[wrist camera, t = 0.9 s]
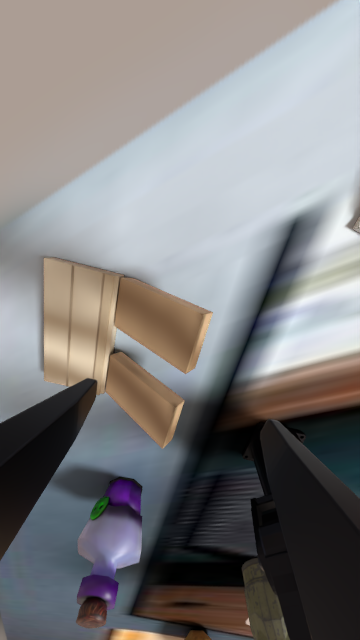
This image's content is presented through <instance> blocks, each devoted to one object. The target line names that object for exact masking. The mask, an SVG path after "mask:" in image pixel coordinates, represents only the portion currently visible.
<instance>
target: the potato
mask: <svg viewBox="0 0 360 640" xmlns="http://www.w3.org/2000/svg"><path fill="white" fill-rule="evenodd" d="M185 640H211V638H210V637H209V636H208V635H207V634H206V633H205V632H204V631H201V630H190V632H189V633H188V635H187V637H186V638H185Z"/></svg>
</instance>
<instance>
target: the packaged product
mask: <svg viewBox="0 0 360 640" xmlns="http://www.w3.org/2000/svg"><path fill="white" fill-rule="evenodd" d="M352 229H354V230H355V231H357V232H359V233H360V216H359V218H358V220H357V221H356V223H355V225H354V227H353V228H352Z"/></svg>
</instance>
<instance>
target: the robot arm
mask: <svg viewBox="0 0 360 640" xmlns="http://www.w3.org/2000/svg"><path fill="white" fill-rule="evenodd" d="M97 384H98V382H97V380H96V379H91V378H86V379H84V380H82V381H80V382H78V383H77V384H75V385H73V386H71V387H69V388H67V389H65V390H63V391H61V392H59V393H57V394H55V395H54V396H52V397H50V398H48V399H46V400H44V401H42V402H40V403H38V404H36V405H34V406H32V407H31V408H29V409H27V410H25V411H23V412H21V413H19V414H17V415H15V416H13V417H11V418H9V419H8V420H6V421H4V422H2V423H0V560H1V559H2V557H3V556H4V554H5V552H6V551H7V549H8V547H9V546H10V544H11V543H12V541H13V539H14V538H15V536H16V535H17V533H18V531H19V530H20V528H21V526H22V525H23V523H24V522H25V520H26V518H27V517H28V515H29V514H30V512H31V510H32V509H33V507H34V505H35V504H36V502H37V501H38V499H39V497H40V496H41V494H42V493H43V491H44V489H45V488H46V486H47V484H48V483H49V481H50V480H51V478H52V476H53V475H54V473H55V472H56V470H57V468H58V467H59V465H60V464H61V462H62V460H63V459H64V457H65V455H66V454H67V452H68V451H69V449H70V447H71V446H72V444H73V442H74V441H75V439H76V437H77V435H78V433H79V431H80V429H81V427H82V425H83V423H84V421H85V419H86V417H87V415H88V413H89V411H90V409H91V407H92V405H93V403H94V401H95V398H96V393H97ZM305 438H306V435H305V434H304V433H303V432H300V431H296V430H292V429H287V428H285V427H284V426H283V425H282V424H281V423H280V422H278V421H276V420H271V419H268V420H267V421H266V423H258V424H257V426H256V428H255V430H254V431H253V433H252V435H251V437H250V439H249V441H248V443H247V445H246V447H245V449H244V451H243V453H242V456H243V458H244V459H246V460H251V461H254V463H255V466H256V470H257V473H258V476H259V479H260V482H261V486H262V489H263V492H264V495H265V496H263V497H260V498H253V499H251V506H252V508H251V511H252V519H253V526H254V533H255V540H256V547H257V554H258V563H259V566H260V568H261V569H262V570H263V571H264V572H265V575H266V577H267V580H268V582H269V584H270V587H271V588H272V590H273V592H274V593H275V595H277V596H278V599H279V603H280V607H281V610H282V614H283V618H284V622H285V625H286V629H287V633H288V636H289V639H290V640H360V499H359V498H358V497H357V496H356V495H355V494H354V493H353V492H352V491H351V490H350V489H349V488H348V487H347V486H346V485H345V484H344V483H343V482H342V481H341V480H340V479H338V478H337V477H336V476H335V475H334V474H333V473H332V472H331V471H330V470H329V469H328V468H327V467H326V466H325V465H324V464H323V463H322V462H321V461H320V460H319V459H318V458H316V457H315V456H314V455H313V454H312V453H311V452H310V451H309V450H308V449H307V448H306V447H305V446H304V445H303V444H302V443H303V441H304V440H305Z"/></svg>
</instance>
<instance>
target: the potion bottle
mask: <svg viewBox="0 0 360 640" xmlns="http://www.w3.org/2000/svg"><path fill="white" fill-rule="evenodd" d="M141 493H142V486H141V485H140V484H139V483H138V482H137V481H135V480H134V479H130V478H124V477H119V478H117V479H115V480H112V481H110V485H109V487H108V489H107V491H106V493H105V495H104V496H103V498H101V499H100V500H99V501H98V502H97V503H96V504H95V506H94V508H93V509H92V512H91V515H90V519H89V521H88V522H87V524H86V526H85V528H84V530H83V531H82V533H81V535H80V537H79V539H78V554H80V555H81V556H83V557H84V558H86V559H88V560H89V561H91V562H92V563H94V565H93V568H92V572H91V575H90V576H87V577H84V578H83V579H82V582H81V586H80V589H79V592H78V595H77V603H78V604H80V605H81V607H80V609H79V613H78V617H77V620H76V623H77V624H78V625H80V626H82V627H86V628H97V627H101V626H104V625H105V624H106V615H107V610H109V609H113V608H114V605H115V601H116V596H117V591H118V584H119V583H118V582H116V581H115V580H114V577H115V573H116V568H123V567H126V566H129V565H132V564H135V563H139V559H140V554H141V541H142V516H140V505H141Z"/></svg>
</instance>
